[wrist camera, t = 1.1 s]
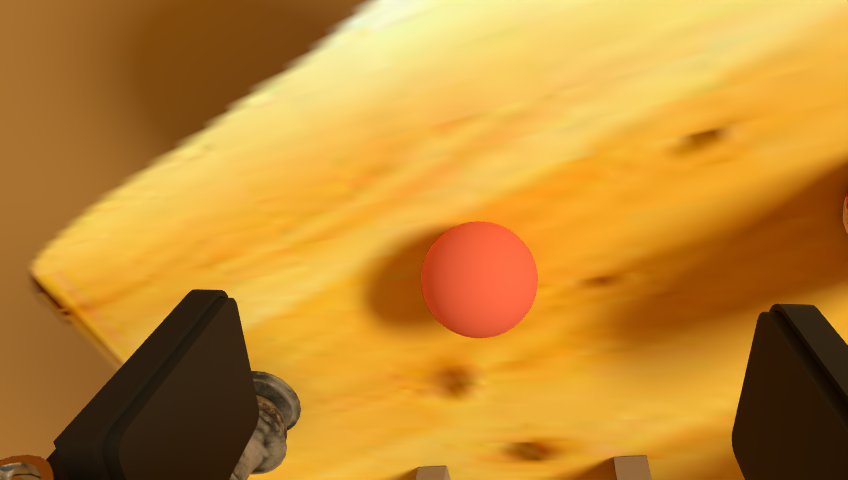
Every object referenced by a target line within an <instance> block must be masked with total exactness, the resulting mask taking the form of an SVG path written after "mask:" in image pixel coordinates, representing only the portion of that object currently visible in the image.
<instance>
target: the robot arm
mask: <svg viewBox="0 0 848 480" xmlns="http://www.w3.org/2000/svg"><path fill="white" fill-rule="evenodd" d="M258 419H259V406H258V401H257V396H256V392H255V387H254V382H253V378H252V373H251V368H250V363H249V359H248V354H247V349H246V345H245V340H244V335H243V331H242V326H241V321H240V316H239V312H238V307H237V303H236V301H235V300H234V299H233V298H228V295H227V294H226V292H225V291H223V290H198V289H196V290H192V291H190V292H189V293H188V294H187V295H186V296H185V297H184V299H183V300H182V301H181V302H180V303H179V304H178V305H177V306H176V307H175V308H174V310H173V311H172V312H171V313H170V314H169V315H168V316H167V317H166V318H165V319H164V321H163V322H162V323H161V324H160V325H159V326H158V327H157V328H156V329H155V330H154V332H153V333H152V334H151V335H150V336H149V337H148V338H147V339H146V340H145V341H144V343H143V344H142V345H141V346H140V347H139V348H138V349H137V350H136V351H135V352H134V354H133V355H132V356H131V357H130V358H129V359H128V360H127V361H126V362H125V363H124V365H123V366H122V367H121V368H120V369H119V370H118V371H117V372H116V373H115V374H114V376H113V377H112V378H111V379H110V380H109V381H108V382H107V383H106V385H104V387H103V388H102V389H101V390H100V391H99V392H98V393H97V394H96V395H95V397H94V398H93V399H92V400H91V401H90V402H89V403H88V404H87V405H86V407H85V408H84V409H83V410H82V411H81V412H80V413H79V414H78V415H77V417H75V419H74V420H73V421H72V422H71V423H70V424H69V425H68V426H67V427H66V428H65V430H64V431H63V432H62V433H61V434H60V435H59V436H58V437H57V438H56V439H55V441H54V445H55V447H56V449H55V450H54V452H53V453H52V454H51V455H50V456H49V457H48V458H47V459H46V460H45V459H43V458H41V457H39V456H32V455H21V456H12V457H9V458H5V459H2V460H0V480H229V479H230V477H231V475H232V473H233V471H234V469H235V467H236V465H237V464H238V462H239V460H240V458H241V456H242V454H243V452H244V450H245V448H246V446H247V444H248V442H249V440H250V439H251V437H252V435H253V433H254V431H255V429H256V427H257V424H258ZM732 447H733V452H734V454H735V457H736V459H737V462H738V464H739V466H740V469H741V471H742V473H743V476H744V478H745V480H848V345H847V344H846V343H845V341H844V340H843V339H842V338H841V337H840V335H839V334H838V333H837V332H836V331H835V329H834V328H833V327H832V326H831V325H830V323H829V322H828V321H827V320H826V318H825V317H824V316H823V315H822V314H821V312H820V311H819V310H818V309H817V308H816V307H815V306H814V305H799V304H775V305H773V306H772V307H771V309H770V311H769V312H762V313H761V314H760V315H759V317H758V320H757V324H756V329H755V333H754V338H753V342H752V347H751V351H750V355H749V360H748V364H747V369H746V373H745V378H744V382H743V387H742V391H741V395H740V400H739V404H738V409H737V413H736V418H735V422H734V427H733V431H732Z"/></svg>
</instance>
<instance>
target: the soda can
mask: <svg viewBox="0 0 848 480" xmlns="http://www.w3.org/2000/svg"><path fill="white" fill-rule="evenodd" d="M843 223H844V226H845V230H846V232H847V234H848V192H847V194H846V198H845V201H844V206H843Z"/></svg>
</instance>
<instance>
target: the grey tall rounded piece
mask: <svg viewBox="0 0 848 480" xmlns="http://www.w3.org/2000/svg"><path fill="white" fill-rule="evenodd" d="M251 373H252V378H253V382H254V387H255V392H256V396H257V401H258V406H259V419H258V424H257V427H256V429H255V431H254V433H253V435H252V437H251V439H250V440H249V442H248V444H247V446H246V448H245V450H244V452H243V454H242V456H241V458H240V460H239V462H238V464H237V465H236V467H235V469H234V471H233V473H232V475H231V477H230V479H229V480H247V479H248V477H249V475H250V474H262V473H266V472H269V471H272V470H274V469H275V468H276V467H278V466H279V465H280V464H281V463H282V461H283V459H284V458H285V455H286V449H287V445H286V438H287V430H289V429H291V428H292V427H293V426H294V425H295V424H296V422H297V421H298V419H299V417H300V412H301V408H300V401H299V399H298V397H297V395H296V393H295V392H294V391H293V389H292V388H291V387H290V386H289V385H288V384H287V383H285V382H284V381H283V380H282V379H280V378H278V377H276V376H274V375H272V374H268V373H265V372H257V371H251Z"/></svg>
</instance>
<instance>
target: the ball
mask: <svg viewBox="0 0 848 480" xmlns="http://www.w3.org/2000/svg"><path fill="white" fill-rule="evenodd" d="M537 282H538V278H537V269H536V265H535V261H534V259H533V257H532V254H531V252H530V251H529V249H528V247H527V246H526V245H525V243H524V242H523V241H522V240H521V239H520V238H519V237H518V236H517V235H516V234H514V233H513V232H511V231H510V230H508V229H506V228H505V227H502V226H500V225H497V224H494V223H489V222H469V223H464V224H461V225H458V226H456V227H454V228H452V229H450V230H448V231H446V232H445V233H444V234H442V235H441V236H440V237H439V238H438V239H437V240H436V241H435V242H434V244H433V245H432V246H431V248H430V249H429V251H428V253H427V255H426V257H425V259H424V262H423V266H422V271H421V288H422V293H423V296H424V299H425V302H426V304H427V306H428V308H429V310H430V311H431V313H432V314H433V316H434V317H435V318H436V319H437V320H438V321H439V322H440V323H441V324H442V325H443V326H445V327H446V328H447V329H449V330H451V331H453V332H455V333H457V334H460V335H463V336H466V337H472V338H487V337H493V336H497V335H500V334H502V333H505V332H506V331H508V330H510V329H511V328H513V327H514V326H516V325H517V324H518V323H519V322H520V321H521V320H522V319H523V318H524V317H525V315H526V314H527V313H528V311H529V310H530V308H531V306H532V304H533V301H534V299H535V296H536V291H537Z"/></svg>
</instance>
